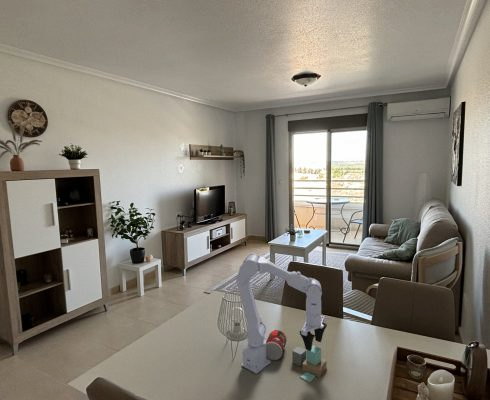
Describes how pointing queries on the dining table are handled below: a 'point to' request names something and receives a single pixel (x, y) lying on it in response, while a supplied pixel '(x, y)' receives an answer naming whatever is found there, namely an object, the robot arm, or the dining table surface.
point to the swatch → (308, 376)
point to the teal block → (314, 355)
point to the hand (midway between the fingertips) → (313, 345)
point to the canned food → (275, 345)
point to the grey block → (298, 356)
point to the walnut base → (314, 367)
